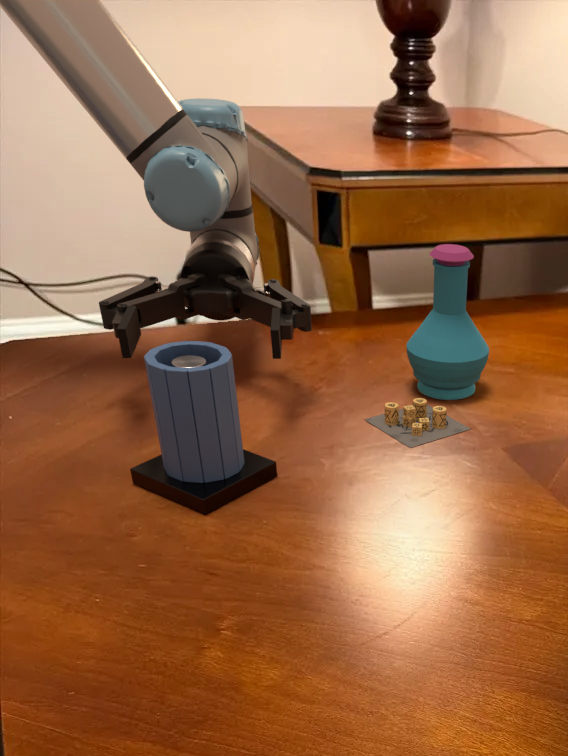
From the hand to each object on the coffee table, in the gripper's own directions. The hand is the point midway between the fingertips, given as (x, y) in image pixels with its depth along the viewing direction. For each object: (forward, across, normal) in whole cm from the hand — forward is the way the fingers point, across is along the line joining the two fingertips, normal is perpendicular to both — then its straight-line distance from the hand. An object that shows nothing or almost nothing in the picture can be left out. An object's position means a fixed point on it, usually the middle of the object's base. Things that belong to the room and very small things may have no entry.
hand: (200, 344), depth 80 cm
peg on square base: (+9, 0, -9) cm, 13 cm away
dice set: (-2, -21, -9) cm, 23 cm away
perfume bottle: (-12, -25, -9) cm, 29 cm away
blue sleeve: (+9, 0, -8) cm, 12 cm away
